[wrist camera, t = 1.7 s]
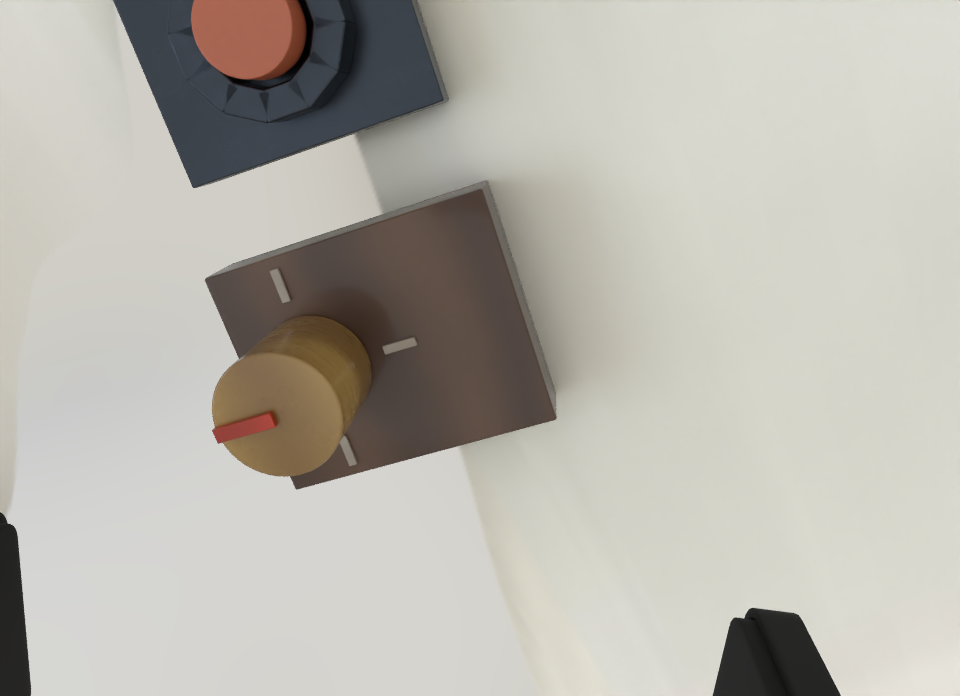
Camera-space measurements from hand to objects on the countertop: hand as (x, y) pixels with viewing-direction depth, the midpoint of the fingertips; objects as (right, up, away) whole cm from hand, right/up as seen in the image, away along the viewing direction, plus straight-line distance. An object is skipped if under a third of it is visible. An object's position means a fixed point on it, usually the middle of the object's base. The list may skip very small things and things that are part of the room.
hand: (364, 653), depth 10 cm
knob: (-5, +3, +23) cm, 24 cm away
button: (-7, +16, +19) cm, 25 cm away
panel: (-2, +5, +25) cm, 26 cm away
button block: (-6, +17, +22) cm, 28 cm away
